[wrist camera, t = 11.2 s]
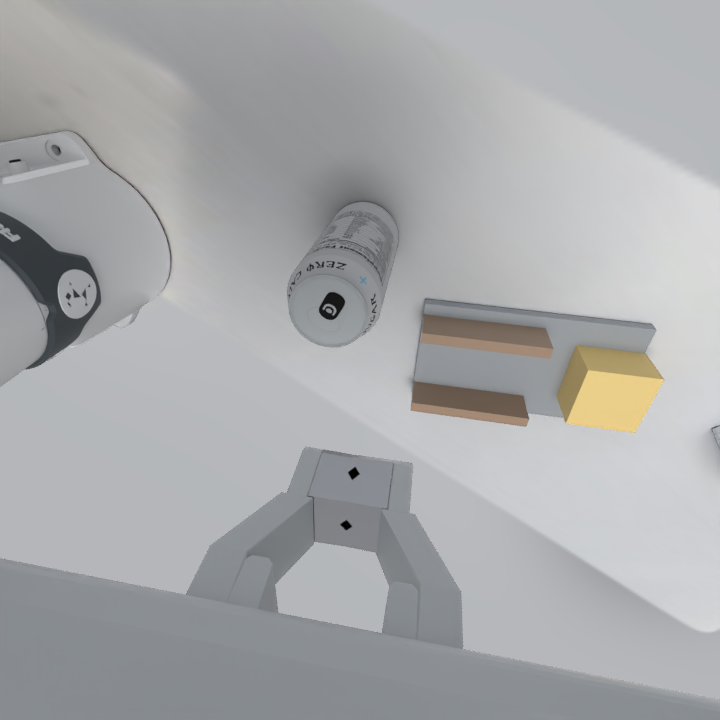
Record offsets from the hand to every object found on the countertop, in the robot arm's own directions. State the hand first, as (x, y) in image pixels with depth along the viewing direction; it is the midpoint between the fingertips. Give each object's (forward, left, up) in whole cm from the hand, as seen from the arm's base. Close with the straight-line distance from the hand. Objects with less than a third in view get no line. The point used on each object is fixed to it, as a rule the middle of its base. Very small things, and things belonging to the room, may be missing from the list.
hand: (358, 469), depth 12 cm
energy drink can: (-4, -3, -29) cm, 30 cm away
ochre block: (+19, -14, -28) cm, 37 cm away
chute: (+12, -14, -29) cm, 34 cm away
